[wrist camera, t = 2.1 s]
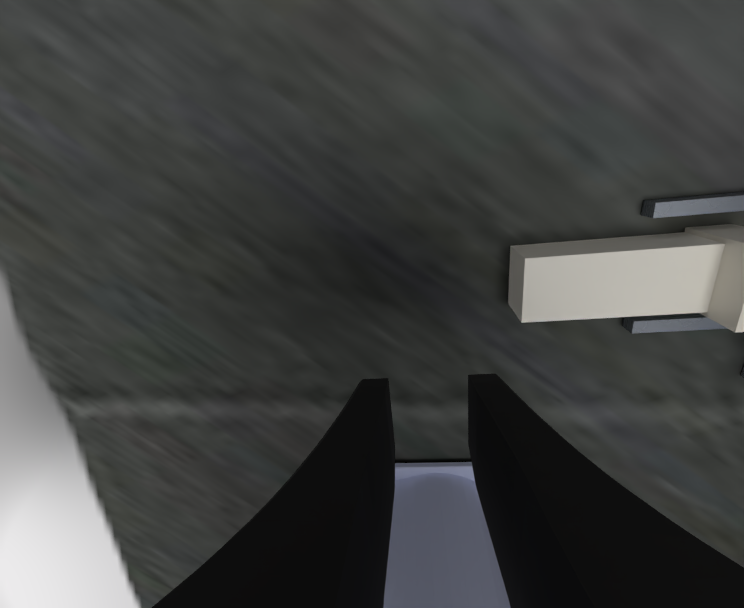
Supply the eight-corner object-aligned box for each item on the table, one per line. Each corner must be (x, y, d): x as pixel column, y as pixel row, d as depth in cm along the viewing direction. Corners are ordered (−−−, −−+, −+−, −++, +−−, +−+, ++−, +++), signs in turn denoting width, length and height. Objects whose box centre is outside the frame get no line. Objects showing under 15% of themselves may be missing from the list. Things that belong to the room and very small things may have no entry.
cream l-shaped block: (507, 306, 18) (532, 342, 14) (510, 241, 16) (537, 263, 13) (741, 292, 17) (827, 327, 13) (762, 221, 15) (861, 240, 12)
